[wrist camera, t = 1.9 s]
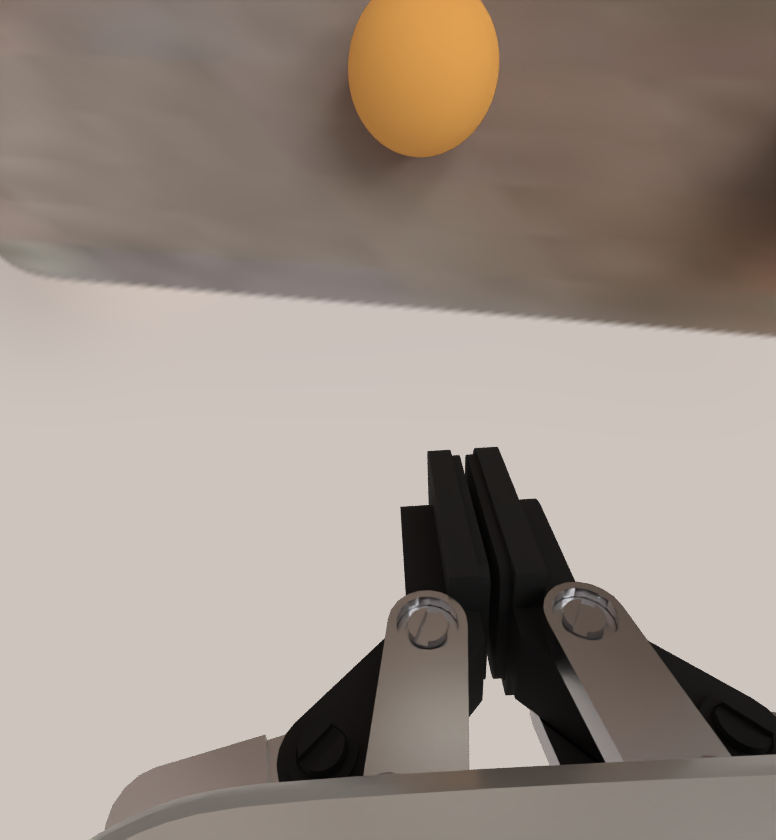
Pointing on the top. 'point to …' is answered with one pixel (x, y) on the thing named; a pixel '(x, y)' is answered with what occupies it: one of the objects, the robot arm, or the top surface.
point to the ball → (423, 72)
